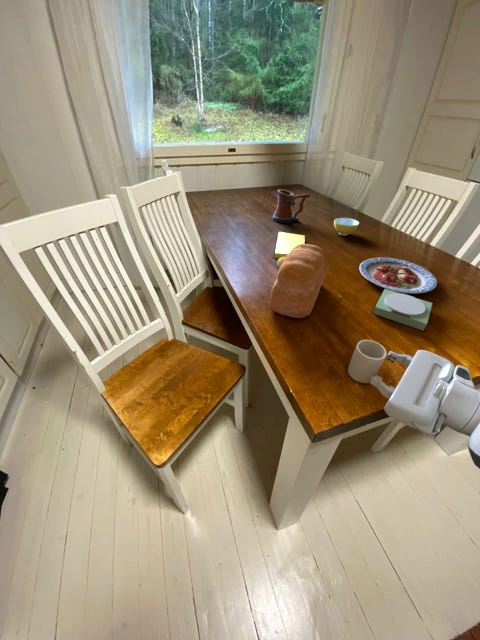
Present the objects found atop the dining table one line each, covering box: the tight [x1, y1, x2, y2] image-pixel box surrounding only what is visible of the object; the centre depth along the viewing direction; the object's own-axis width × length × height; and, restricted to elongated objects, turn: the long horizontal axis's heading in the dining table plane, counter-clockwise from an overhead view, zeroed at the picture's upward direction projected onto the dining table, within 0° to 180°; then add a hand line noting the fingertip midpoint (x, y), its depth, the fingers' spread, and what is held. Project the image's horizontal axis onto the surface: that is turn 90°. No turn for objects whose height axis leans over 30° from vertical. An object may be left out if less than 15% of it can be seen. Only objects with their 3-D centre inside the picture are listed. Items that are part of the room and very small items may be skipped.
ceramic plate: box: [358, 257, 438, 294], centre depth 100 cm, size 26×26×3 cm
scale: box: [372, 288, 433, 331], centre depth 84 cm, size 14×13×3 cm
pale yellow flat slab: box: [274, 231, 306, 259], centre depth 121 cm, size 12×2×24 cm
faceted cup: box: [347, 339, 388, 384], centre depth 63 cm, size 6×6×8 cm
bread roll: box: [276, 257, 285, 269], centre depth 106 cm, size 8×9×4 cm
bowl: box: [333, 217, 360, 237], centre depth 132 cm, size 11×12×6 cm
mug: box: [272, 188, 311, 224], centre depth 145 cm, size 18×12×15 cm, turn 76°
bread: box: [269, 243, 326, 319], centre depth 86 cm, size 14×26×15 cm, turn 156°
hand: (380, 365), depth 61 cm, fingers open, 8 cm apart
